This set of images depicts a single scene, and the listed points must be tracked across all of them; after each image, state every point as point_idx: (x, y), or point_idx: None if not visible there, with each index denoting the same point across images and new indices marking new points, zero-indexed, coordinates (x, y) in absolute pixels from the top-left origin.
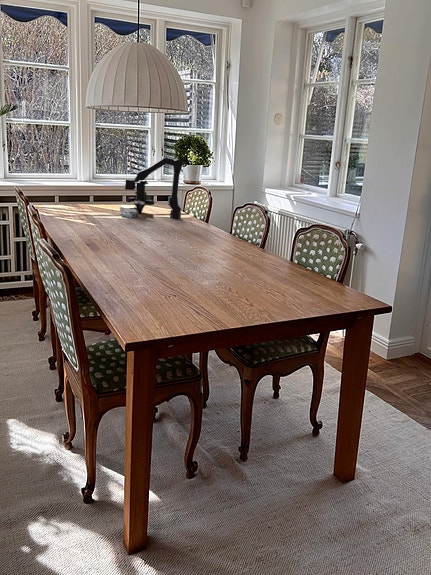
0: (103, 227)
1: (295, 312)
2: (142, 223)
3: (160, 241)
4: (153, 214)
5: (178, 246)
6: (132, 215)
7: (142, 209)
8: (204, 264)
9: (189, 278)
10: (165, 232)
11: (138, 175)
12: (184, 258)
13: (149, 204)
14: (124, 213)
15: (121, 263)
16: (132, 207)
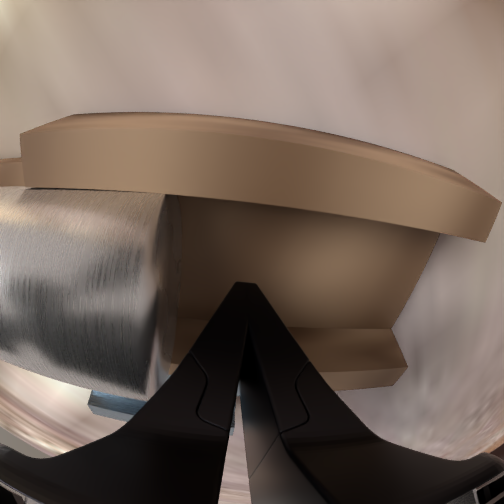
0: (249, 487)
1: (495, 448)
2: (376, 413)
3: (441, 457)
4: (496, 201)
5: (468, 447)
6: (234, 421)
7: (305, 366)
8: (476, 452)
9: None
10: (471, 422)
11: None
12: (460, 459)
13: (492, 491)
14: (122, 418)
15: None
16: (16, 364)
